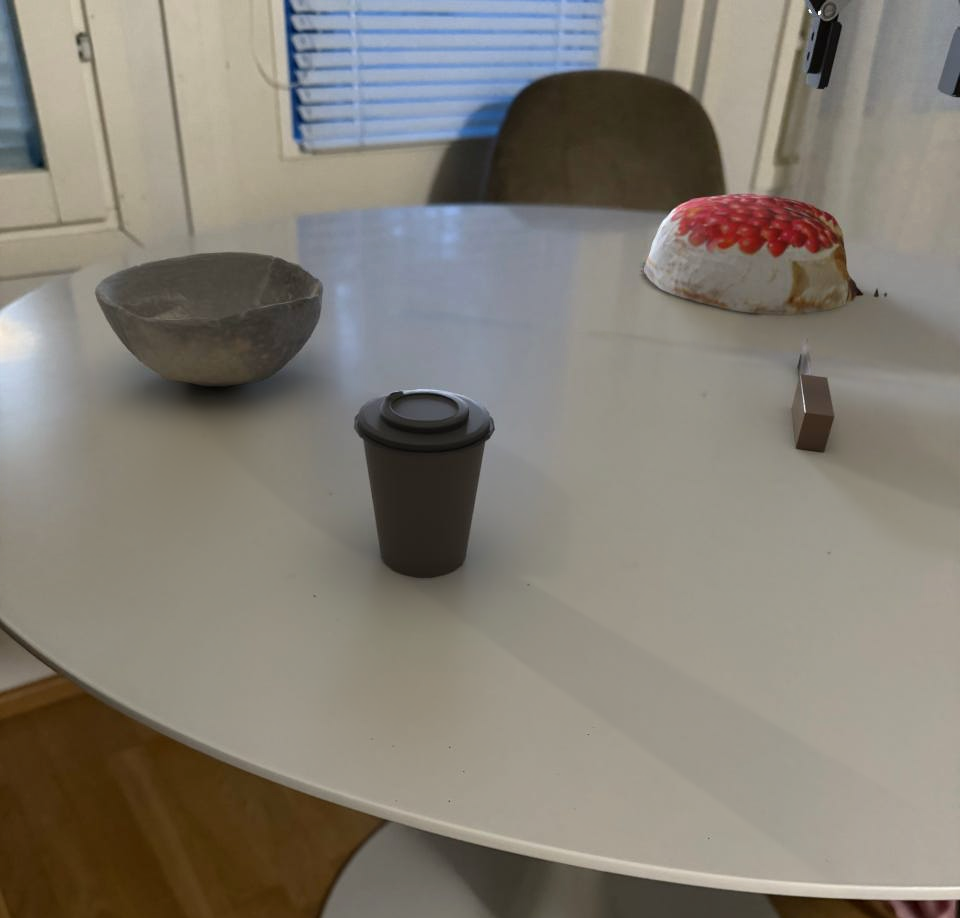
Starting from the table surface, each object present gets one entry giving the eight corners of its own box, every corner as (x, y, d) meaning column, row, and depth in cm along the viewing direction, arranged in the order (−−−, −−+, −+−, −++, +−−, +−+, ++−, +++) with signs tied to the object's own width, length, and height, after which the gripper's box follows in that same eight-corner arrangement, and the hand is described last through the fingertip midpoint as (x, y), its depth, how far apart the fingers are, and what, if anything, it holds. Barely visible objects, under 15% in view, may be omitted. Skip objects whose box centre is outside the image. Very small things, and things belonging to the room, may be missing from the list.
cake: (907, 328, 98) (940, 225, 92) (682, 331, 95) (700, 224, 88) (810, 261, 116) (832, 172, 110) (618, 262, 113) (629, 169, 106)
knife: (824, 452, 74) (834, 416, 72) (795, 448, 75) (805, 412, 73) (811, 368, 88) (819, 336, 87) (786, 365, 89) (794, 333, 87)
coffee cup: (371, 516, 63) (367, 371, 57) (492, 526, 63) (501, 381, 57) (346, 583, 57) (338, 428, 51) (481, 595, 57) (489, 440, 51)
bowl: (206, 322, 91) (195, 233, 86) (365, 359, 85) (363, 267, 80) (64, 385, 78) (41, 285, 73) (240, 435, 72) (228, 330, 67)
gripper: (847, -251, 55) (775, 91, 65) (1143, -230, 55) (1025, 106, 65) (811, -235, 61) (751, 76, 71) (1079, -216, 61) (980, 90, 71)
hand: (882, 90), depth 68 cm, fingers open, 9 cm apart
